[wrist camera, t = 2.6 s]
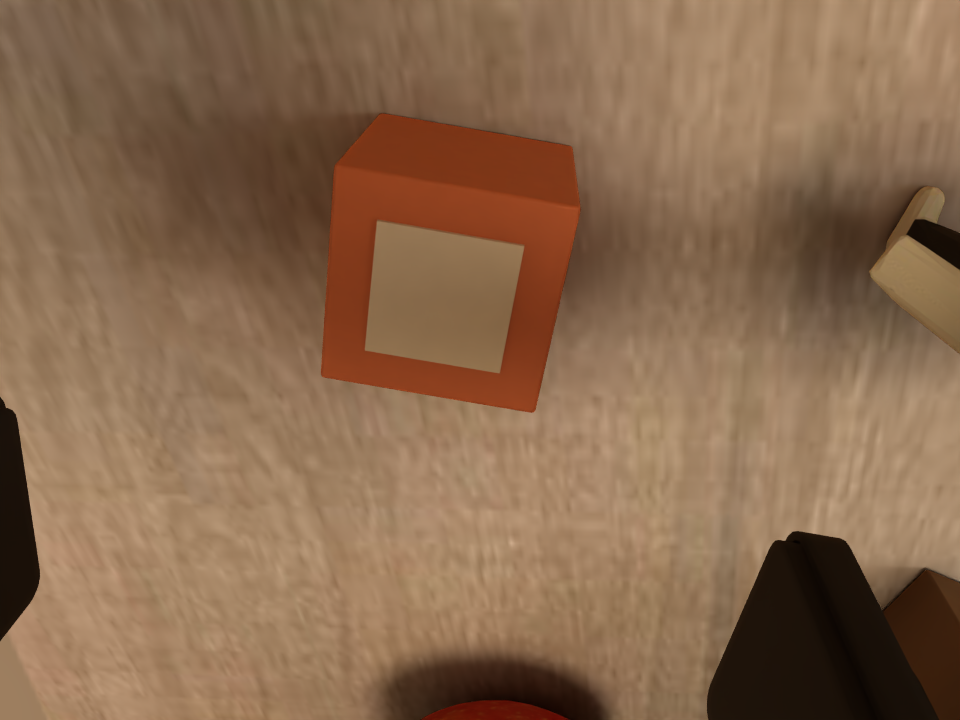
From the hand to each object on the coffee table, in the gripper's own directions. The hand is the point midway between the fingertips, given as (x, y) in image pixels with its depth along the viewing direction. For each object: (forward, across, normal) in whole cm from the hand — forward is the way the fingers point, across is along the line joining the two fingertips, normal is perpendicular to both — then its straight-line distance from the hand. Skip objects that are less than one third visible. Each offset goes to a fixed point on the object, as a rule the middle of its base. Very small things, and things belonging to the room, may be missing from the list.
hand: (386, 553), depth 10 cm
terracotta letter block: (+11, 0, -1) cm, 11 cm away
